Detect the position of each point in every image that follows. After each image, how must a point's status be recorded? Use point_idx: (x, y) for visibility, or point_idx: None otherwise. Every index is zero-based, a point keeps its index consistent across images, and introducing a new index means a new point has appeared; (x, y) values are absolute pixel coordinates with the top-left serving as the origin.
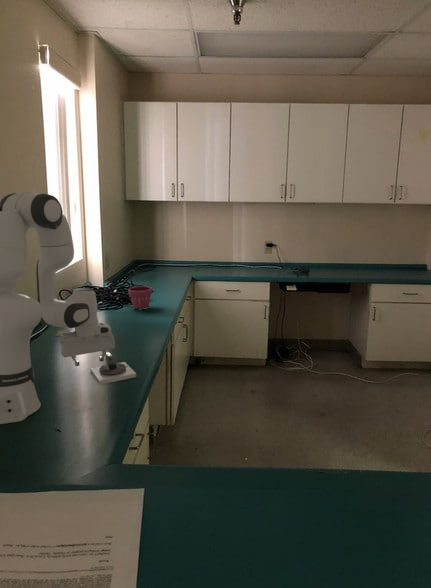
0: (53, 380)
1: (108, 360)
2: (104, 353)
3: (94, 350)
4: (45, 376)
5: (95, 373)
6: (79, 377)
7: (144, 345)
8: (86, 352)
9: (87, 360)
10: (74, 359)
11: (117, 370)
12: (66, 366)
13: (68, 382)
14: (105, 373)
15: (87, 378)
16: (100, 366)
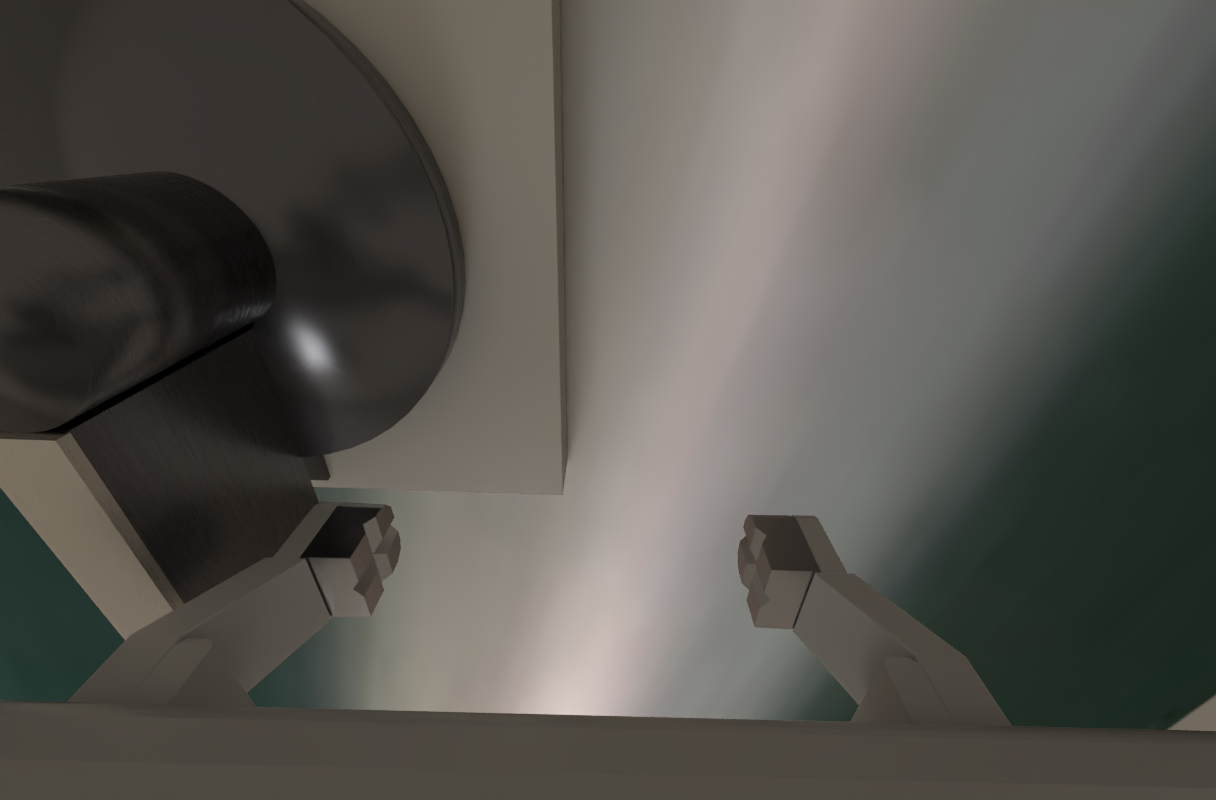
0: (1020, 446)
1: (100, 301)
2: (188, 623)
3: (360, 773)
4: (1003, 570)
5: (537, 286)
6: (739, 377)
7: None
8: (637, 755)
9: (530, 689)
10: (898, 630)
11: (49, 25)
12: (731, 664)
13: (934, 290)
14: (352, 54)
15: (663, 288)
16: (427, 489)
